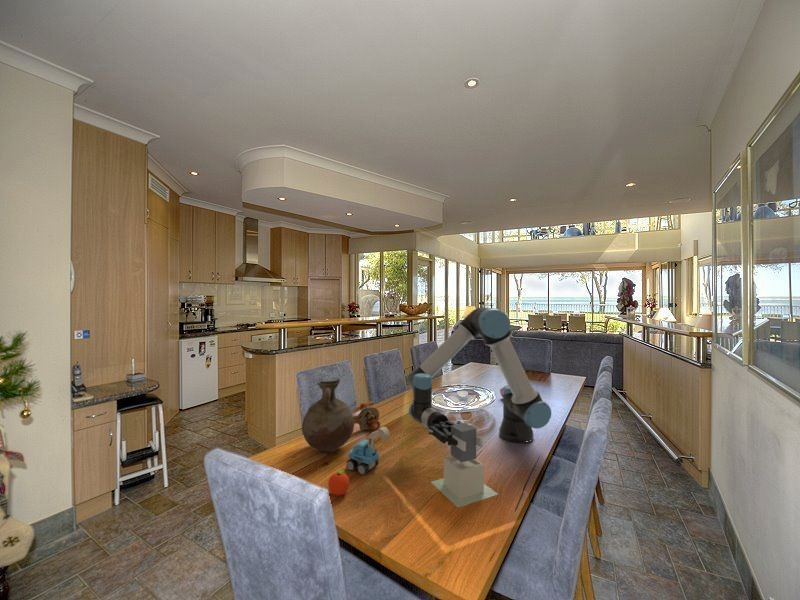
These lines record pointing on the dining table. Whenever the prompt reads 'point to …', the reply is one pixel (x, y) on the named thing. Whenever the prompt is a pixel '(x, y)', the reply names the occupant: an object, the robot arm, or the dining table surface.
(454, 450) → the charcoal brick
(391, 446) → the dining table surface
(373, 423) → the toy helicopter
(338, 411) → the jug
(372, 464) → the toy excavator
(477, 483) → the cream base brick
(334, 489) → the clementine
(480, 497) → the green baseplate
